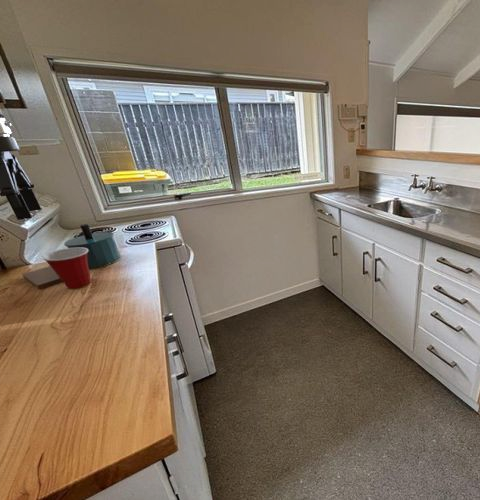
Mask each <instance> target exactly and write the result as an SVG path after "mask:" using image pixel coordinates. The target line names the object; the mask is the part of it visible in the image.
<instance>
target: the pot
mask: <svg viewBox="0 0 480 500" xmlns="http://www.w3.org/2000/svg"><path fill="white" fill-rule="evenodd" d="M78 247H83V248H88V253H87V261H88V267H89V270H93V268H94V269H97V268H96V267H99V268H101V267H100V266H103V267H105V266H104V265H106V266H108V265H107V264H109V263H112V262H114V261H116V260H118V259H119V258H120V257H121V254H120V251H119V248H118V245H117V243H116V240H115V237H114V236H113V237H112V238H110V239H108V240H105V241H102V242H99V243H95V244H91V245H85V246H78ZM66 248H75V247H67V246H66ZM120 259H121V258H120ZM120 259H119V260H120ZM119 260H118V261H119ZM116 262H117V261H116ZM114 263H115V262H114ZM112 264H113V263H112ZM109 265H110V264H109Z"/></svg>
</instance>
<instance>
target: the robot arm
mask: <svg viewBox="0 0 480 500" xmlns="http://www.w3.org/2000/svg"><path fill="white" fill-rule="evenodd" d="M11 126H12V124H11V122H9V121H7V120H6V117H5V115H4V114H3V112H2V109H1V108H0V197H6V199H7V201H8V203H9V205H10V207H11V209H12V211H13V213H14V215H15V217H16V219H17V221H20V220H28V219H33V218H34V217H33V215H32V214H31V212H34V211H41V210H43V209H42V206H41V204H40V202H39V200H38V198H37V196H36V194H35V192H34V190H33V189H35V188H36V186H35V184H32V182H31V180H30V179H29V177H28V175H27V174H26V172H25V171H24V169H23V167H22V166H21V164H20V162H19V161H18V158H17V156H16V155H15V154H12V153H10V152H19V151H20V147H19V145H18V143H17V140H16V138H15V137H13V136H11V135H12V134H13V132H12V130H11V128H10V127H11Z"/></svg>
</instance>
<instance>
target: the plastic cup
mask: <svg viewBox="0 0 480 500" xmlns="http://www.w3.org/2000/svg"><path fill="white" fill-rule="evenodd" d="M87 253H88V248H83V247H75V248H67V247H66V248H62V249H61V248H60V249H56V250H53V251H50V252H47V253H45V254H44V255H42V256H41V258H42V260H43V261H45V262H46V263H47V264H48V266H51V267H52V268H53V270H54V271H55V272H56V274H57V275H58V276H59V278H60V279H61V280H62V281H63V282H62V283H63V284H64V285H65V286H66V287H67V288H68V289H70V290H76V289H80V288H83V287H86V286H88V285H89V284H90V283H91V276H90V269H89V267H88V261H87Z"/></svg>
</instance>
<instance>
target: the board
mask: <svg viewBox="0 0 480 500" xmlns="http://www.w3.org/2000/svg"><path fill="white" fill-rule="evenodd" d="M21 275H22V277H23V278H24V279H25V280H26V281H27V282H29V283H30V284H32V285H33V286H35V288H37V289H38V290H42V289H46V288H49V287H52V286H54V285H58V284H60V283H64V282H63V281H62V280H61V279H60V278H59V276H58V275H57V274H56V272H55V271H54V270H53V268H52V267H51V266H50V265H48V266H46V267H42V268H39V269H34V270H32V271H28V272H25V273H21Z"/></svg>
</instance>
